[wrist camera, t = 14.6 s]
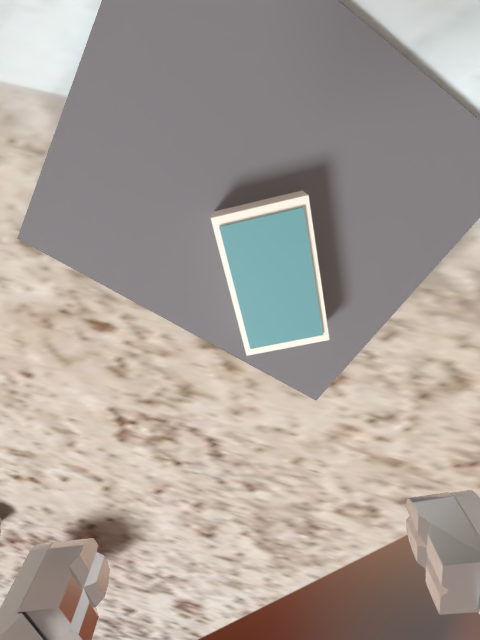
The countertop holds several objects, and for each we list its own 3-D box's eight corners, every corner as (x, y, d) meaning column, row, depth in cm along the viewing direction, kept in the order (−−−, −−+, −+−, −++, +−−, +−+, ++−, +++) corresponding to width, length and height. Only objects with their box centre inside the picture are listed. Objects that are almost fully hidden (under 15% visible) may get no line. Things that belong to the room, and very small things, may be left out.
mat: (21, 236, 26) (17, 238, 26) (159, -147, 18) (157, -154, 17) (315, 396, 32) (316, 400, 31) (523, 161, 23) (529, 162, 23)
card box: (246, 357, 26) (210, 218, 22) (246, 339, 29) (213, 211, 25) (330, 341, 26) (308, 195, 21) (322, 324, 28) (302, 190, 24)
